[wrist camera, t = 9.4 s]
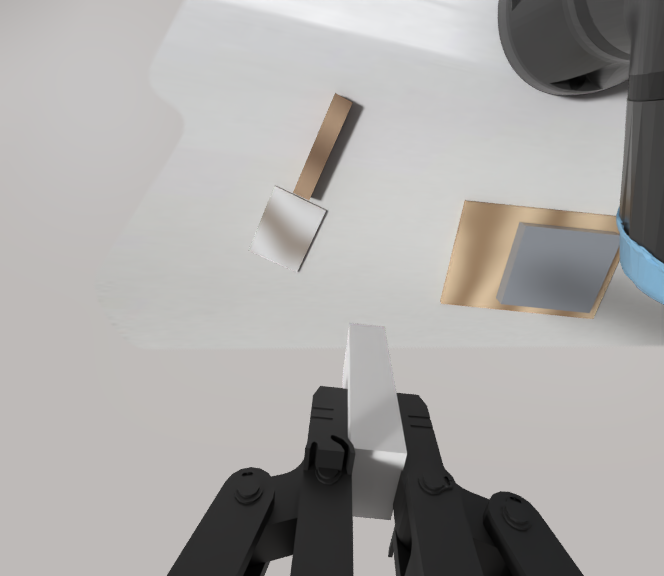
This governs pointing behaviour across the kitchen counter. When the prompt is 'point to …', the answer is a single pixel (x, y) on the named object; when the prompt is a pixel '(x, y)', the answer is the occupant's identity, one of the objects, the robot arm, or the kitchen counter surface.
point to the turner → (299, 200)
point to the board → (506, 252)
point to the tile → (557, 267)
